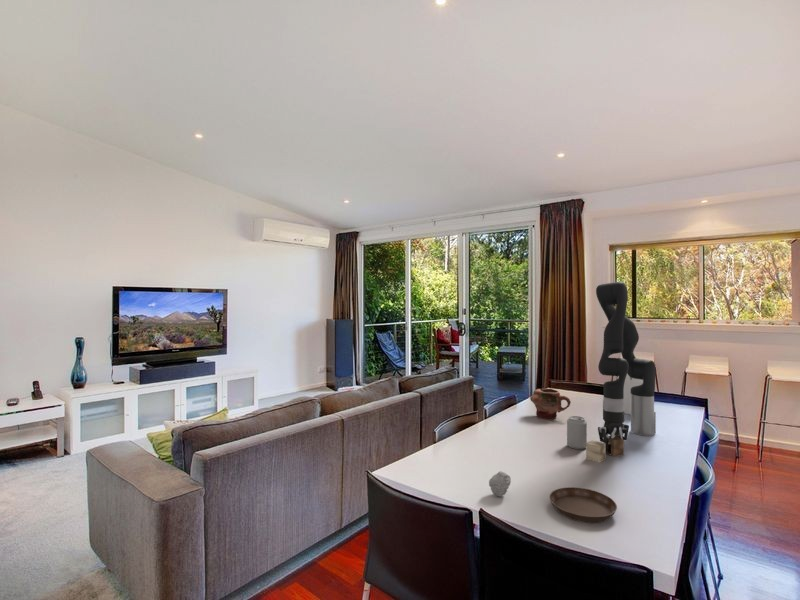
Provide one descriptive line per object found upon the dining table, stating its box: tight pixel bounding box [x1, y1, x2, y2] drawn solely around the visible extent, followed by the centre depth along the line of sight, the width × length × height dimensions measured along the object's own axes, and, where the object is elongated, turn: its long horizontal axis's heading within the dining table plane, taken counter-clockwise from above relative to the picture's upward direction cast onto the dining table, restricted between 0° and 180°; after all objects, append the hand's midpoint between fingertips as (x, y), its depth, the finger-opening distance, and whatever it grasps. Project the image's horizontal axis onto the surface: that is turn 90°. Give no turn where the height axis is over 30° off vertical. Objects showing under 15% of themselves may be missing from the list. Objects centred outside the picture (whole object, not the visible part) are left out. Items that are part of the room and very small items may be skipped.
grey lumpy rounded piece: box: [488, 470, 512, 497], centre depth 130 cm, size 6×7×7 cm
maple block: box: [585, 439, 607, 463], centre depth 160 cm, size 5×5×6 cm
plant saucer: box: [549, 486, 618, 524], centre depth 121 cm, size 18×18×3 cm
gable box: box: [616, 374, 643, 415], centre depth 231 cm, size 22×13×28 cm, turn 151°
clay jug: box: [529, 388, 571, 421], centre depth 216 cm, size 20×12×14 cm, turn 60°
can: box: [566, 415, 588, 450], centre depth 173 cm, size 8×8×12 cm
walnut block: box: [606, 436, 625, 457], centre depth 166 cm, size 5×5×6 cm
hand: (613, 452), depth 166 cm, fingers closed on walnut block, 5 cm apart
